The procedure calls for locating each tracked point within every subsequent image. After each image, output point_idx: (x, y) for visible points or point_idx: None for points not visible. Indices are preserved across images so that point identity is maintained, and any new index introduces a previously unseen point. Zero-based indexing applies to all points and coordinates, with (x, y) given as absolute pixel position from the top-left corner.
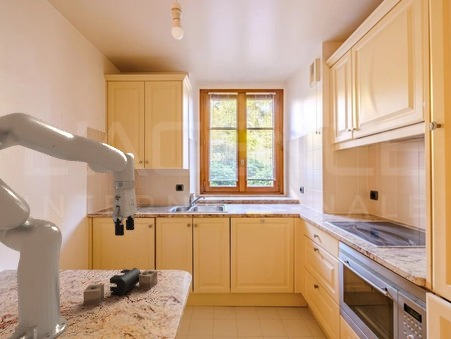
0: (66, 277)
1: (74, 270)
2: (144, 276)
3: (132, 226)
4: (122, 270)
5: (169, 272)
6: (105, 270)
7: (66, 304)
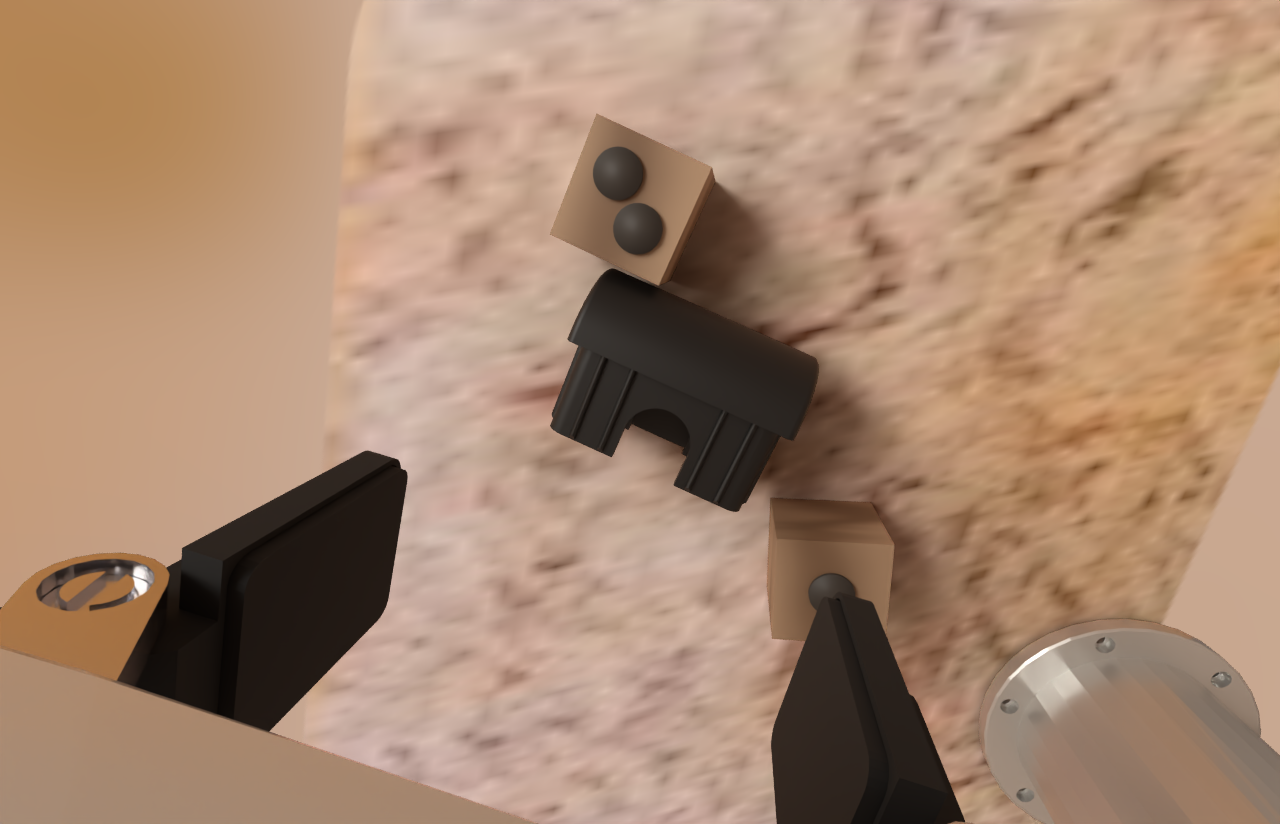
0: None
1: None
2: (685, 228)
3: (362, 509)
4: (585, 444)
5: (410, 50)
6: None
7: None
